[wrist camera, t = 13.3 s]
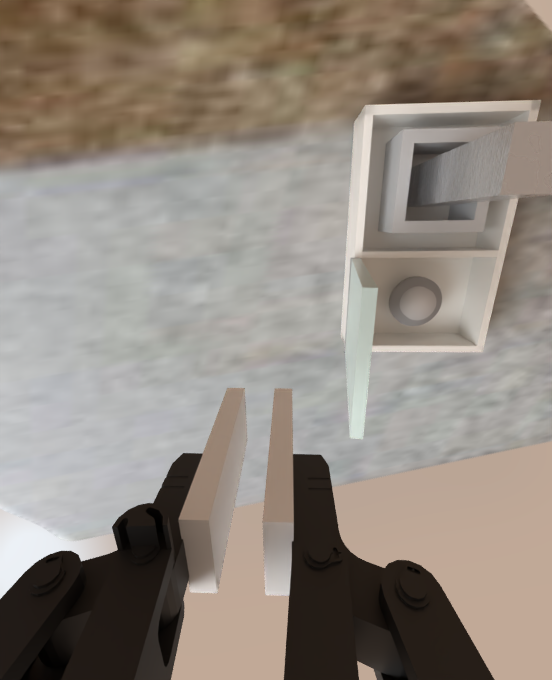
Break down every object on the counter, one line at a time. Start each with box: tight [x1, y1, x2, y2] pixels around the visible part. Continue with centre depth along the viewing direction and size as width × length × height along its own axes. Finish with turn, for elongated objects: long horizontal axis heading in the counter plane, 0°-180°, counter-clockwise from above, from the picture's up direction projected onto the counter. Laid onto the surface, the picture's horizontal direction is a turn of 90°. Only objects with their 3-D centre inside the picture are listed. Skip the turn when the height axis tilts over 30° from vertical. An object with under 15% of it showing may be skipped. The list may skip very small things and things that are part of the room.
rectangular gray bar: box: [407, 121, 552, 207], centre depth 24 cm, size 3×3×16 cm
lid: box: [344, 258, 378, 439], centre depth 25 cm, size 15×10×1 cm
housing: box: [341, 100, 541, 352], centre depth 32 cm, size 14×22×6 cm, turn 1°
